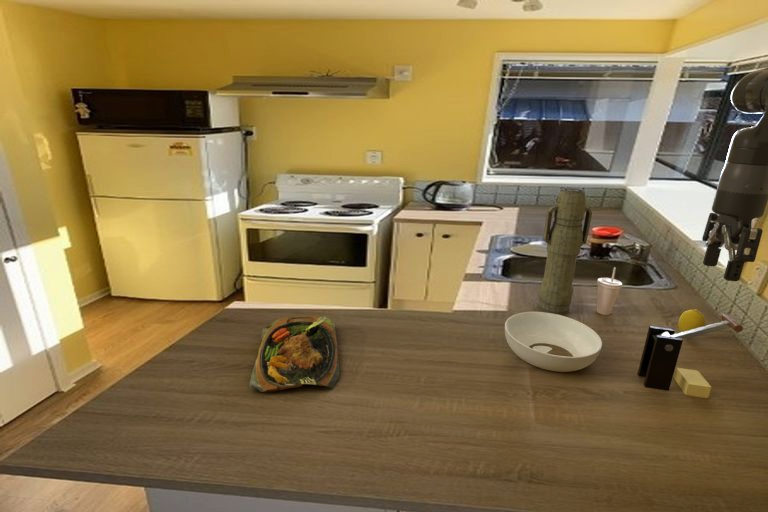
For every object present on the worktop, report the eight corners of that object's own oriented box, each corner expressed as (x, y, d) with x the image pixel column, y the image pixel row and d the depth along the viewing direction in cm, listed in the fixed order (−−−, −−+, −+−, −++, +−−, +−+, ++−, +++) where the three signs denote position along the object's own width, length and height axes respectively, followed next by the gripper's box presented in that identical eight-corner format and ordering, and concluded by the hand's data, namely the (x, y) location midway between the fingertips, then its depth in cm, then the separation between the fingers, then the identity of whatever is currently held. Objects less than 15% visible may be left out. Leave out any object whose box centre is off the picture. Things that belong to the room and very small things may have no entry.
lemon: (699, 335, 111) (707, 308, 109) (701, 344, 107) (710, 316, 104) (674, 330, 114) (681, 303, 111) (675, 338, 109) (683, 310, 107)
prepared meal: (341, 373, 84) (247, 378, 81) (340, 388, 85) (248, 393, 82) (334, 315, 111) (263, 317, 108) (334, 327, 112) (264, 329, 109)
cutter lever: (731, 321, 84) (727, 310, 83) (744, 333, 79) (741, 322, 79) (653, 341, 89) (649, 332, 88) (662, 354, 84) (658, 343, 84)
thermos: (527, 301, 129) (544, 187, 118) (564, 300, 130) (584, 187, 119) (541, 314, 121) (560, 192, 110) (580, 313, 122) (603, 192, 111)
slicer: (664, 378, 92) (678, 325, 88) (681, 403, 84) (698, 346, 80) (624, 372, 94) (636, 320, 90) (637, 396, 86) (651, 340, 82)
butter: (695, 382, 91) (700, 367, 90) (715, 409, 83) (721, 392, 82) (664, 378, 92) (668, 363, 91) (681, 403, 84) (686, 387, 83)
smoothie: (609, 319, 119) (619, 272, 115) (587, 311, 124) (596, 266, 119) (619, 313, 123) (629, 268, 119) (597, 305, 128) (606, 261, 123)
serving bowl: (499, 373, 92) (503, 345, 90) (503, 330, 111) (506, 306, 109) (604, 393, 87) (611, 364, 84) (589, 344, 106) (594, 319, 103)
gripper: (793, 196, 69) (763, 288, 74) (746, 184, 82) (723, 262, 87) (739, 194, 71) (714, 283, 76) (702, 182, 84) (682, 259, 89)
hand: (719, 272), depth 82 cm, fingers open, 8 cm apart
